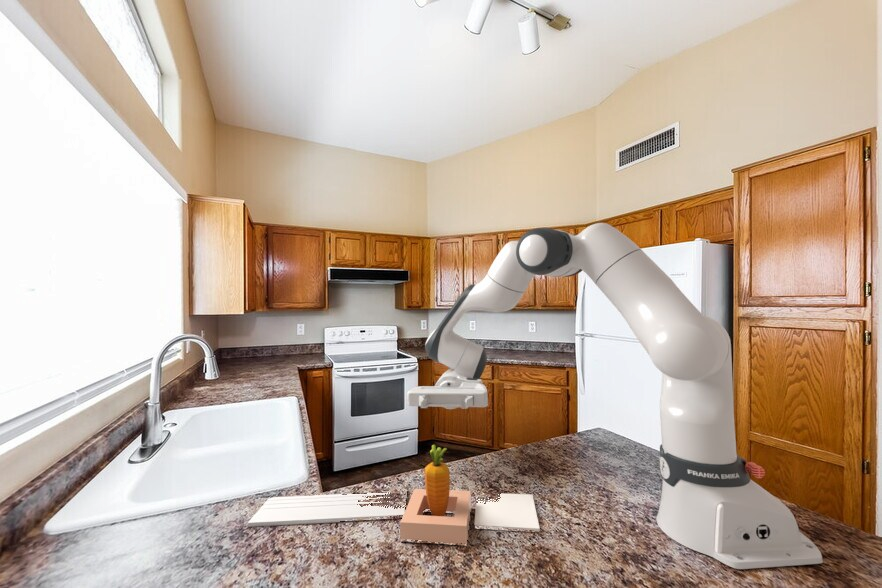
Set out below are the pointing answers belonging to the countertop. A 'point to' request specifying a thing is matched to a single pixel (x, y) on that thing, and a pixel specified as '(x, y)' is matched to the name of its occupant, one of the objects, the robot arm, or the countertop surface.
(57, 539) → the countertop surface
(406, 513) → the holder ring
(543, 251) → the robot arm
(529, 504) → the plate
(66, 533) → the countertop surface
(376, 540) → the countertop surface
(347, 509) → the baseboard molding
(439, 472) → the carrot
